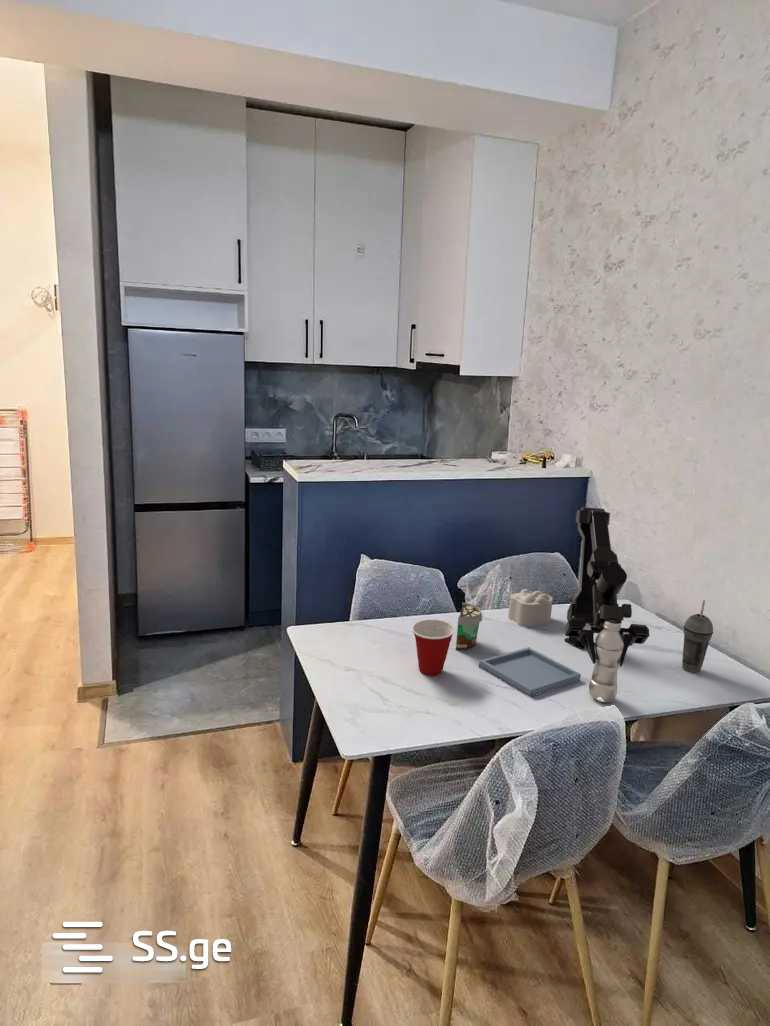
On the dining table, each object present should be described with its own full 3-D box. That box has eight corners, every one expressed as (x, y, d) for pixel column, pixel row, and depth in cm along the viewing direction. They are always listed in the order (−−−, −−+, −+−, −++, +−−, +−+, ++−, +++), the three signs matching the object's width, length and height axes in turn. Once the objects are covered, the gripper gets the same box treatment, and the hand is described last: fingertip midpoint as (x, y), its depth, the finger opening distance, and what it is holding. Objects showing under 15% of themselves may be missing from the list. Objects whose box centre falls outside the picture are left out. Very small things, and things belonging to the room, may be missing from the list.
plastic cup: (399, 667, 177) (402, 623, 174) (431, 658, 183) (435, 615, 180) (427, 685, 168) (431, 638, 166) (460, 674, 175) (464, 630, 172)
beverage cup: (704, 666, 189) (717, 597, 184) (707, 678, 182) (720, 606, 177) (675, 661, 191) (687, 592, 186) (677, 672, 184) (689, 601, 180)
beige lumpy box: (503, 616, 217) (506, 589, 215) (537, 611, 222) (540, 585, 220) (524, 628, 208) (527, 601, 206) (558, 623, 213) (561, 596, 211)
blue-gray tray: (527, 653, 190) (528, 647, 190) (579, 680, 176) (580, 674, 175) (478, 666, 180) (479, 660, 180) (529, 697, 166) (530, 690, 165)
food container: (477, 655, 187) (481, 620, 185) (455, 651, 188) (458, 617, 186) (481, 637, 199) (484, 604, 196) (459, 634, 200) (462, 601, 198)
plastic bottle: (601, 708, 163) (613, 628, 158) (581, 694, 168) (592, 617, 164) (621, 703, 166) (634, 624, 161) (601, 690, 171) (612, 614, 167)
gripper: (572, 585, 166) (573, 647, 158) (653, 593, 164) (658, 656, 156) (564, 605, 175) (564, 664, 167) (640, 613, 173) (644, 673, 165)
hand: (607, 664), depth 163 cm, fingers closed on plastic bottle, 6 cm apart
